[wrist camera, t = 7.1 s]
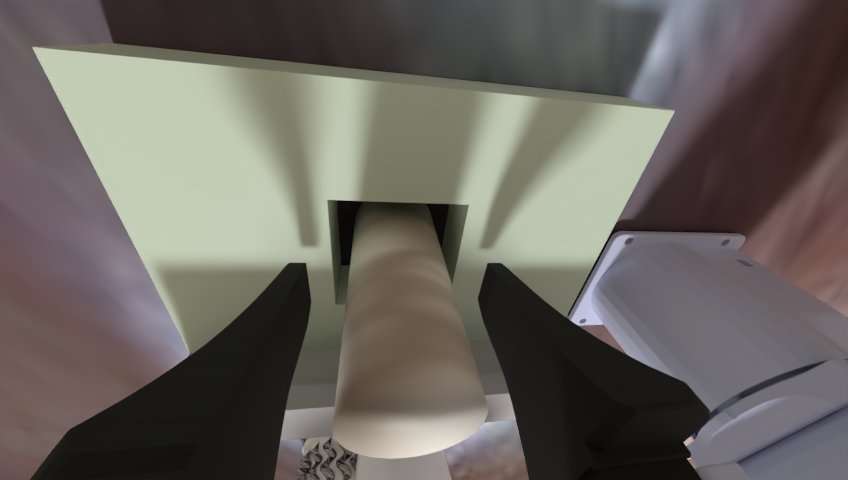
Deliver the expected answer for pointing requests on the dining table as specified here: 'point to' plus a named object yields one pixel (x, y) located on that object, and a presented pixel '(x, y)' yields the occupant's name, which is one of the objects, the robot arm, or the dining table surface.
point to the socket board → (344, 184)
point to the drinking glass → (403, 468)
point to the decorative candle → (326, 460)
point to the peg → (403, 342)
